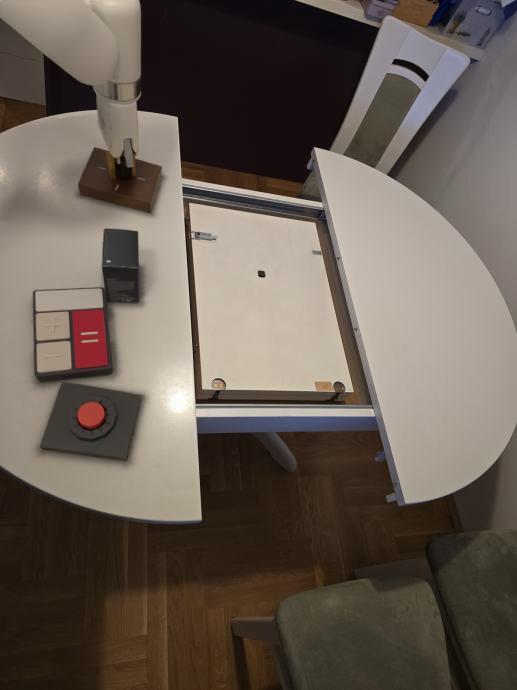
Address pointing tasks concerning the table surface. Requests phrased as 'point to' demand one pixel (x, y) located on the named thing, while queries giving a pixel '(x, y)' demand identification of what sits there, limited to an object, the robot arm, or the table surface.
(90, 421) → the bell button
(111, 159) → the lock knob
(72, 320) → the calculator
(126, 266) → the box
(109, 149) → the robot arm
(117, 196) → the plate
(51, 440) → the bell block
